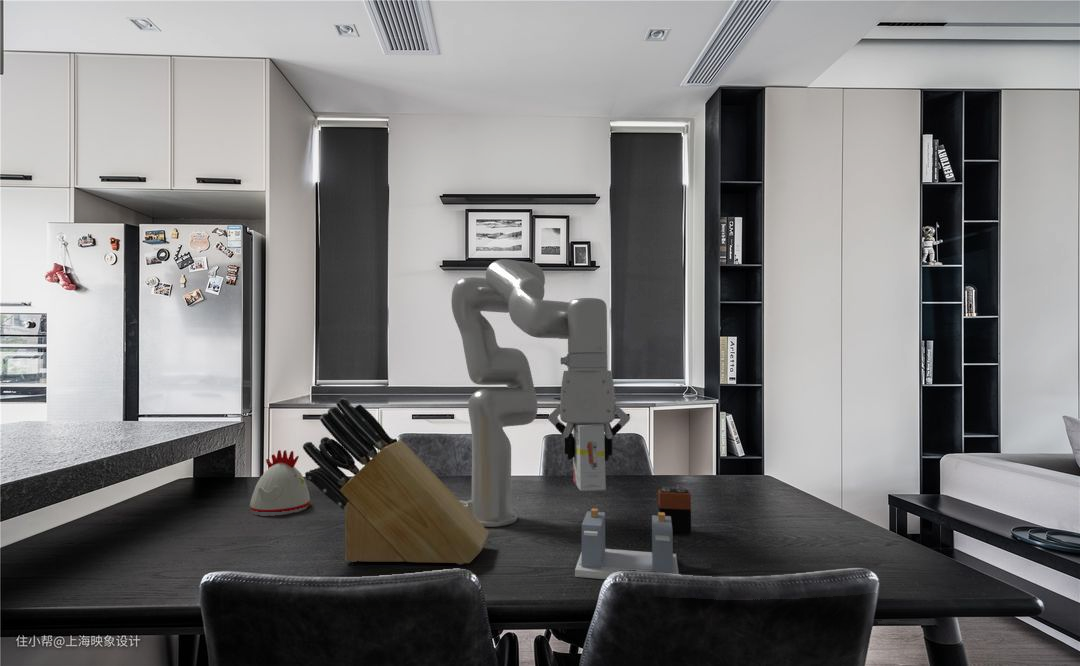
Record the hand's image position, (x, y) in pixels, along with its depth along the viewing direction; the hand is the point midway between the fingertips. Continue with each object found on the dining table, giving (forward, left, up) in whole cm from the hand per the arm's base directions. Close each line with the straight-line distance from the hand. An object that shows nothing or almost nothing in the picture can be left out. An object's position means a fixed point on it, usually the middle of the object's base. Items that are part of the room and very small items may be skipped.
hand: (588, 457), depth 102 cm
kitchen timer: (-82, +23, -20) cm, 88 cm away
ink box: (0, 0, -5) cm, 5 cm away
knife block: (-38, -2, -20) cm, 43 cm away
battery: (+17, +25, -20) cm, 36 cm away
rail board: (+7, +1, -20) cm, 21 cm away
